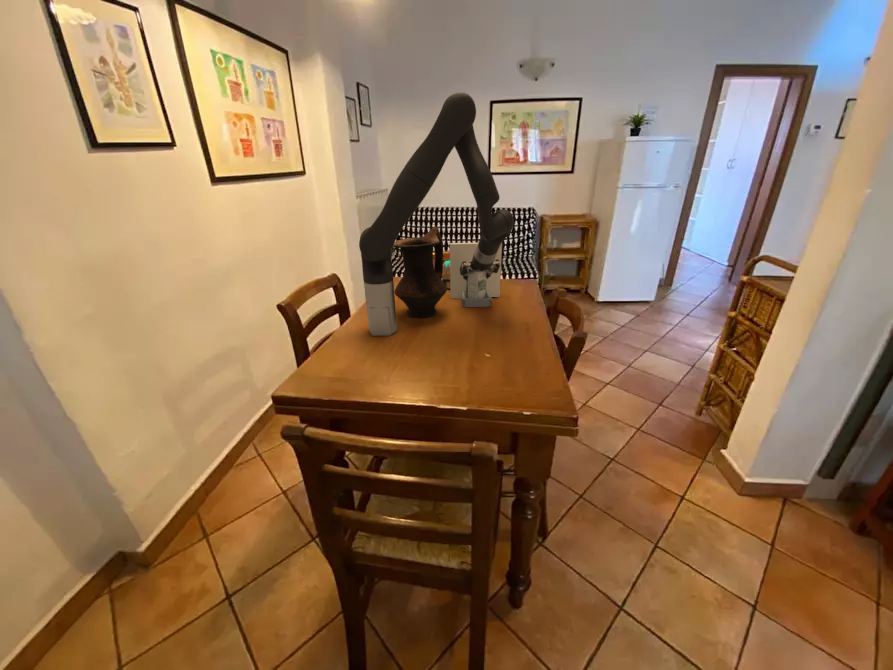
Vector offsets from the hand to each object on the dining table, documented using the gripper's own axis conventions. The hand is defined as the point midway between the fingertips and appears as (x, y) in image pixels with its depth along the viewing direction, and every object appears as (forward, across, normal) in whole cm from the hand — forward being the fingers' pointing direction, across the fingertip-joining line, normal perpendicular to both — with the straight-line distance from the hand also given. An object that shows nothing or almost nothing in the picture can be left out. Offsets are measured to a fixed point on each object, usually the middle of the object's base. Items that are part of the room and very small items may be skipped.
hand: (475, 277), depth 143 cm
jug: (+1, +22, +13) cm, 25 cm away
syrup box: (+7, 0, +7) cm, 10 cm away
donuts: (+26, +3, -11) cm, 28 cm away
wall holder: (+7, 0, +7) cm, 10 cm away
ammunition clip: (+19, +5, -4) cm, 20 cm away
